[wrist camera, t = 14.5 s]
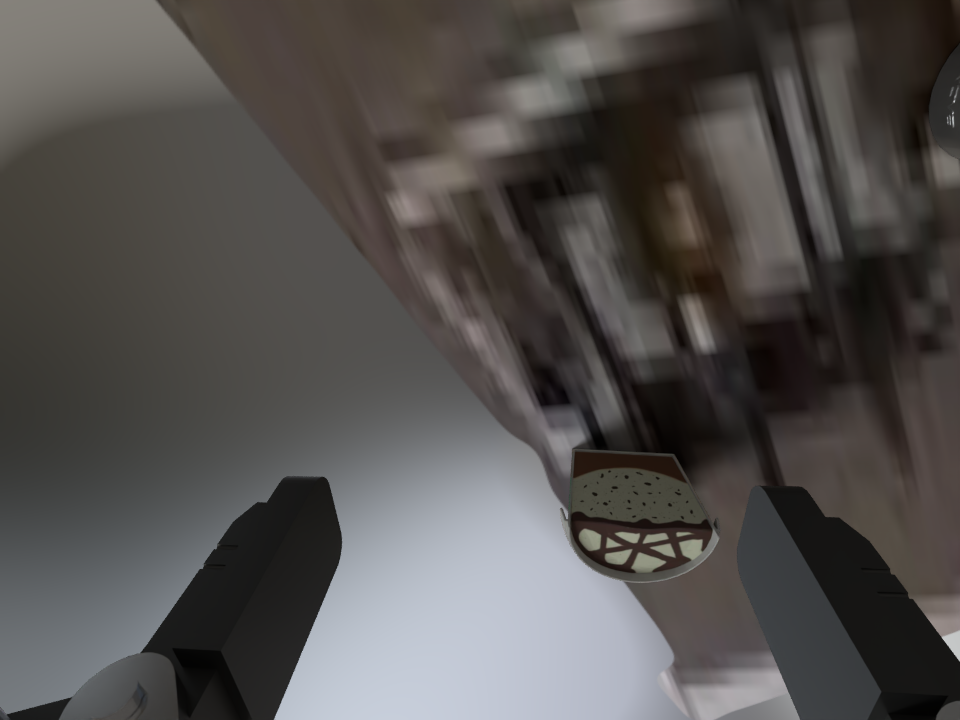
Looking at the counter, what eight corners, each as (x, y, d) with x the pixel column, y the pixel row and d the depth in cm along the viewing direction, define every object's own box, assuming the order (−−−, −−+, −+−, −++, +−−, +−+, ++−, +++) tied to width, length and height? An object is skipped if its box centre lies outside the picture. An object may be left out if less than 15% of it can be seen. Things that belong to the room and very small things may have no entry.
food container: (552, 497, 51) (556, 581, 42) (556, 447, 48) (561, 526, 40) (679, 505, 50) (710, 593, 41) (690, 454, 47) (726, 537, 38)
